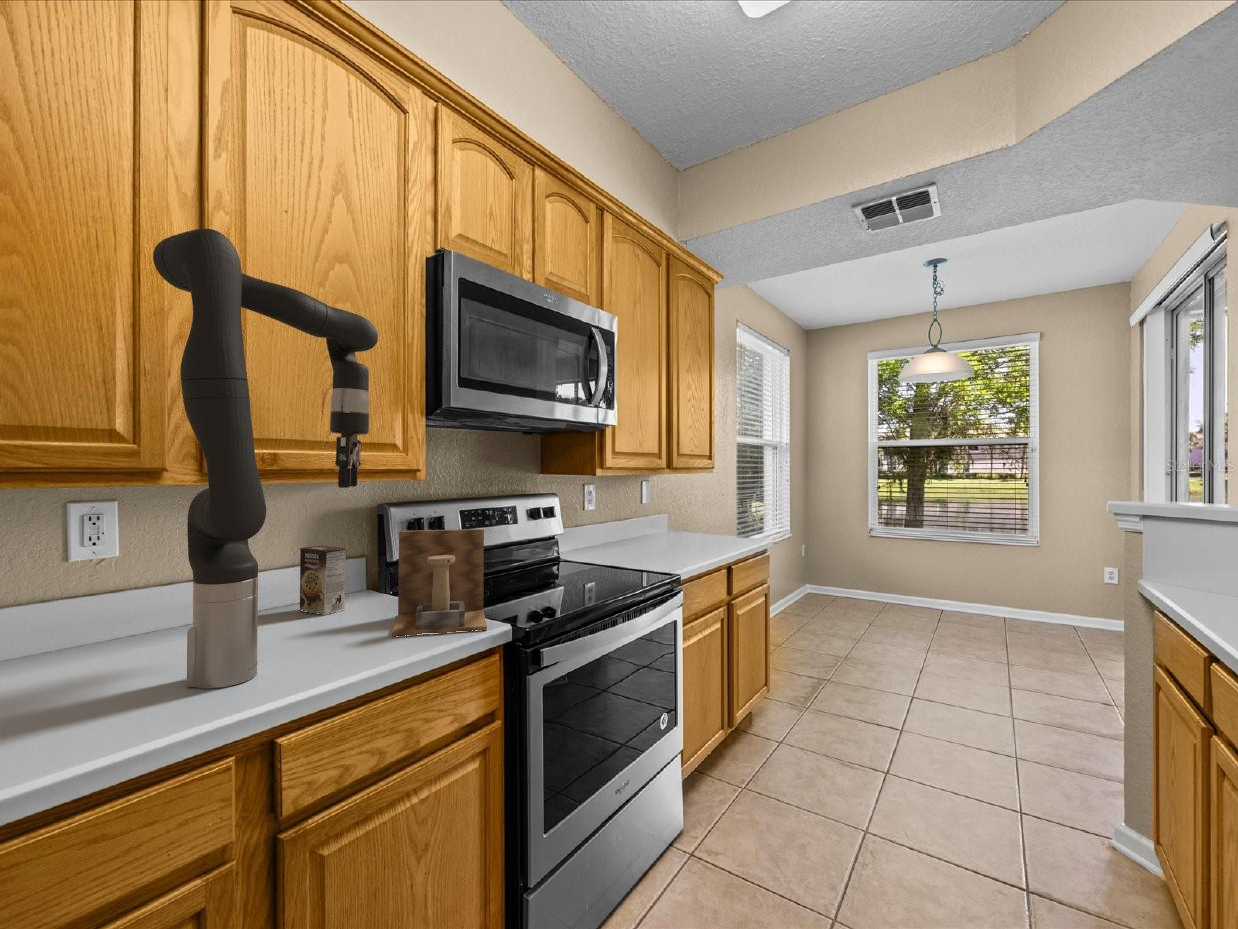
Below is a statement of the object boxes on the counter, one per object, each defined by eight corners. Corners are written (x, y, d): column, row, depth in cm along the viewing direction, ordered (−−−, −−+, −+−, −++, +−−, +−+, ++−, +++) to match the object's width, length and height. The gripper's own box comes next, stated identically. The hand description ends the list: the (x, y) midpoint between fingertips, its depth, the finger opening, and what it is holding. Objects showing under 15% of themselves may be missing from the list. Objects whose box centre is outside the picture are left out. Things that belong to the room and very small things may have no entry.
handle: (458, 620, 132) (459, 556, 132) (436, 627, 127) (437, 559, 127) (444, 617, 135) (444, 554, 135) (422, 623, 129) (422, 557, 129)
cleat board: (391, 637, 122) (392, 539, 122) (399, 615, 141) (400, 530, 141) (486, 630, 128) (487, 537, 128) (482, 610, 146) (483, 528, 146)
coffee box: (298, 612, 143) (298, 547, 143) (320, 606, 149) (321, 544, 149) (324, 616, 139) (324, 550, 139) (346, 610, 145) (346, 546, 145)
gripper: (337, 414, 128) (335, 486, 128) (323, 407, 114) (321, 487, 114) (373, 415, 130) (371, 486, 130) (363, 409, 116) (361, 488, 116)
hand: (347, 487), depth 122 cm, fingers open, 8 cm apart
